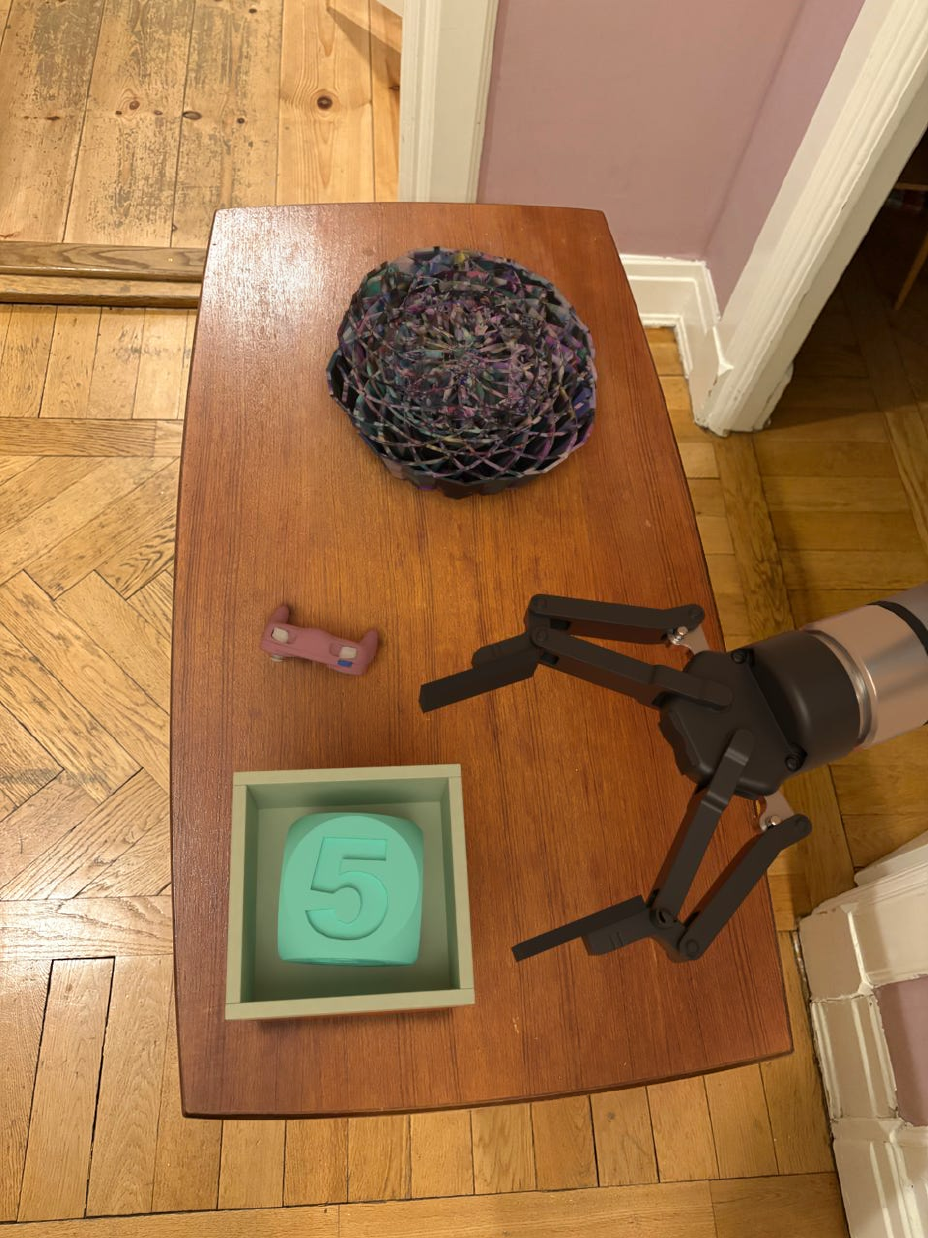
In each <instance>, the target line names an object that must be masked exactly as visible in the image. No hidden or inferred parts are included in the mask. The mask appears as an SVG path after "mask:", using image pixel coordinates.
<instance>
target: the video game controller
mask: <svg viewBox="0 0 928 1238" xmlns="http://www.w3.org/2000/svg"><path fill="white" fill-rule="evenodd" d="M289 617H290V609H289V608H288V606H287V605H285V604H282V605H280V606H278V607H277V608H276V609H275V610H274V612H273V613H272V615H271V616H270V618H269V619H268V620H267V623H266V625H265V626H264V629H263V631H262V634H261V636H260V641H259V646H258V648H259V649H260V650H262V651H264V652H267V653H269V654H270V655H271V656H269V659H271V661H273V662H274V663H275V662H276V663H281V662H284V661H285V659H283V658H287V657H288V658H302V659H306V660H309V661H314V662H318V663H320V664H321V663H322V664H325V667H326V668H329V669H331V670H334V671H336V672H339V673H342V674H346V675H353V676H365V674H366V670H367V668H369V666H370V664H371V663H372V661H373V660H374V659H375V656H376V653H377V650H378V646H379V632H378V631H377V629H375V628H371V629H368V630H367V631H366V632H365V633H364V635H363V636H362V638H361V639H360V640H359V642H356V641H353V640H350V639H348V638H347V639H346V638H343V637H339V636H335V635H333V634H331V633H329V631H326V630H325V629H321V628H318V627H301V626H298V625H294V624H290V623H288V621H289Z"/></svg>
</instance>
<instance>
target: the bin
mask: <svg viewBox="0 0 928 1238" xmlns="http://www.w3.org/2000/svg"><path fill="white" fill-rule="evenodd" d="M231 800H232V801H231V803H232V805H231V833H230V861H229V862H230V863H229V887H228V889H229V892H228V916H227V917H228V919H227V920H228V921H227V949H226V950H227V952H226V979H225V980H226V981H225V1006H224V1020H225V1021H226V1020H227V1021H247V1020H257V1019H272V1018H288V1017H303V1016H319V1015H334V1014H349V1013H365V1012H380V1011H396V1010H411V1009H426V1008H442V1007H455V1008H458V1007H457V1006H460V1007H465V1006H470V1005H474V1004H476V995H475V993H476V992H475V991H476V990H475V978H474V976H475V975H474V962H473V961H474V960H473V958H474V957H473V945H472V944H473V943H472V942H473V941H472V930H471V929H472V928H471V927H472V926H471V909H470V895H469V878H468V860H467V846H466V845H467V843H466V829H465V828H466V827H465V814H464V813H465V811H464V797H463V779H462V764H461V763H445V764H444V763H442V764H416V765H415V764H413V765H388V766H384V765H383V766H360V767H359V766H358V767H335V768H305V769H283V770H282V769H279V770H277V769H276V770H275V769H274V770H251V771H250V770H249V771H233V773H232V799H231ZM322 813H368V814H378V815H386V816H392V817H397V818H402V819H405V820H409V821H411V822H413V823H415V824H417V825H418V826H419V827H420V829H421V830H422V831H423V890H422V910H421V927H420V940H419V950H418V957H417V961H416V962H415V963H414V964H413V965H408V966H392V967H359V966H330V965H313V964H301V963H292V962H286V961H283V960H282V958H281V957H280V956H279V953H278V911H279V896H280V884H281V874H282V865H283V857H284V850H285V844H286V839H287V834H288V830H289V827H290V826H291V825H292V824H293V823H294V822H295V821H296V820H297V819H299V818H301V817H304V816H308V815H314V814H322Z"/></svg>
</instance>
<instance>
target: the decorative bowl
mask: <svg viewBox="0 0 928 1238" xmlns="http://www.w3.org/2000/svg"><path fill="white" fill-rule="evenodd" d="M342 317H343V318H342V320H341V323H340V325H339V326H338V329H337V332H336V336H337V340H338V345H337V348H336V349H335V350H334V351H333V352H332V355H331V357H330V359H329V361H328V364H327V366H326V368H325V375H326V381H327V388H328V389H327V390H328V395H329V396H330V398H331V399H332V400H333V401H334V402H335V403H336V404H337V406H338V407H340V409H341V410H342V411H343V412H344V413H345V414H347V416H348V418H349V421H350V423H351V425H352V427H354V428H355V429H356V434H357V435H358V436H359V437H360V438H361V439H362V440H363V442H364V443H365V444H366V445H367V446H368V448H369V449H370V451H372V452H373V453H374V454H375V455H376V456H377V458H378V459H379V461H380V462H381V464H382V465H383V467H385V469H386V470H387V471H388V472H389V473H390V474H391V476H393V477H395V478H396V479H398V480H401V481H409V483H410V484H411V485H413V486H414V487H416V488H417V489H418V490H420V491H436V490H437V491H439V492H440V493H441V494H442V495H443V496H444V497H445V498H448V499H452V500H456V501H457V500H461V499H465V498H468V497H472V496H473V495H475V493H476V494H478V495H479V496H491V495H497V494H498V493H501V492H502V491H503V490H506V491H512V490H513V491H514V490H518V489H523V487H525V486H527V485H528V484H530V483H531V482H532V481H533V480H535V479H536V478H538V477H539V476H540V475H542V474H546V473H547V472H549V471H550V470H552V469H553V468H555V467H556V466H557V465H559V464H561V463H562V462H563V461H565V460H567V459H568V458H569V455H570V454H572V452H575V450H577V449H579V448H580V447H582V446H584V445H585V444H586V443H587V442H588V440H589V438H590V435H591V433H592V431H593V429H594V427H595V423H596V422H595V418H596V417H595V413H596V407H597V380H598V378H599V377H598V373H597V369H596V366H595V362H594V359H595V357H596V353H597V352H596V349H595V346H594V342H593V337H592V333H591V330H590V328H588V326H587V325H586V324H584V322H583V321H582V320H581V319H580V317H579V315H578V312H577V311H576V309H575V307H574V305H573V304H571V303H570V302H569V301H568V300H567V299H566V297H565V296H564V295H563V294H562V293H561V292H560V290H559V289H558V288H557V287H556V286H555V285H554V284H553V283H552V282H551V281H550V280H549V279H547V278H544V277H543V276H540V275H538V274H536V272H534V271H532V270H530V269H529V268H527V267H526V266H524V265H523V264H521V263H519V262H517V261H516V260H514V259H513V258H509V257H503V256H498V255H495V254H491V253H487V252H483V251H479V250H477V249H476V250H475V249H472V248H462V249H453V248H449V247H445V246H440V245H436V246H435V245H434V246H427V247H421V248H420V247H419V248H411V249H409V250H408V251H406V252H405V253H403V254H401V255H400V256H398V257H396V258H395V259H390V260H385V261H384V262H382V263H380V264H379V265H378V266H376V267H375V268H373V269H372V270H370V271H369V272H367V273H365V274H364V275H363V277H362V280H361V282H360V284H359V287H358V289H357V290H356V291H355V292H353V294H352V295H351V298H350V302H349V306H348V309H347V310H346V311H345V313H344V315H343V316H342Z"/></svg>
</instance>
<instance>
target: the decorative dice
mask: <svg viewBox="0 0 928 1238" xmlns="http://www.w3.org/2000/svg"><path fill="white" fill-rule="evenodd" d="M422 890H423V831H422V830H421V829H420V827H419V826H418V825H417V824H415V823H413V822H411V821H409V820H405V819H402V818H397V817H392V816H386V815H378V814H368V813H322V814H314V815H308V816H304V817H301V818H299V819H297V820H296V821H295V822H294V823H293V824H292V825H291V826H290V827H289V830H288V834H287V839H286V844H285V850H284V857H283V865H282V874H281V884H280V896H279V911H278V953H279V956H280V957H281V958H282V960H283V961H286V962H292V963H301V964H313V965H330V966H359V967H392V966H408V965H413V964H414V963H415V962H416V961H417V957H418V950H419V940H420V927H421V910H422Z"/></svg>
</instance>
